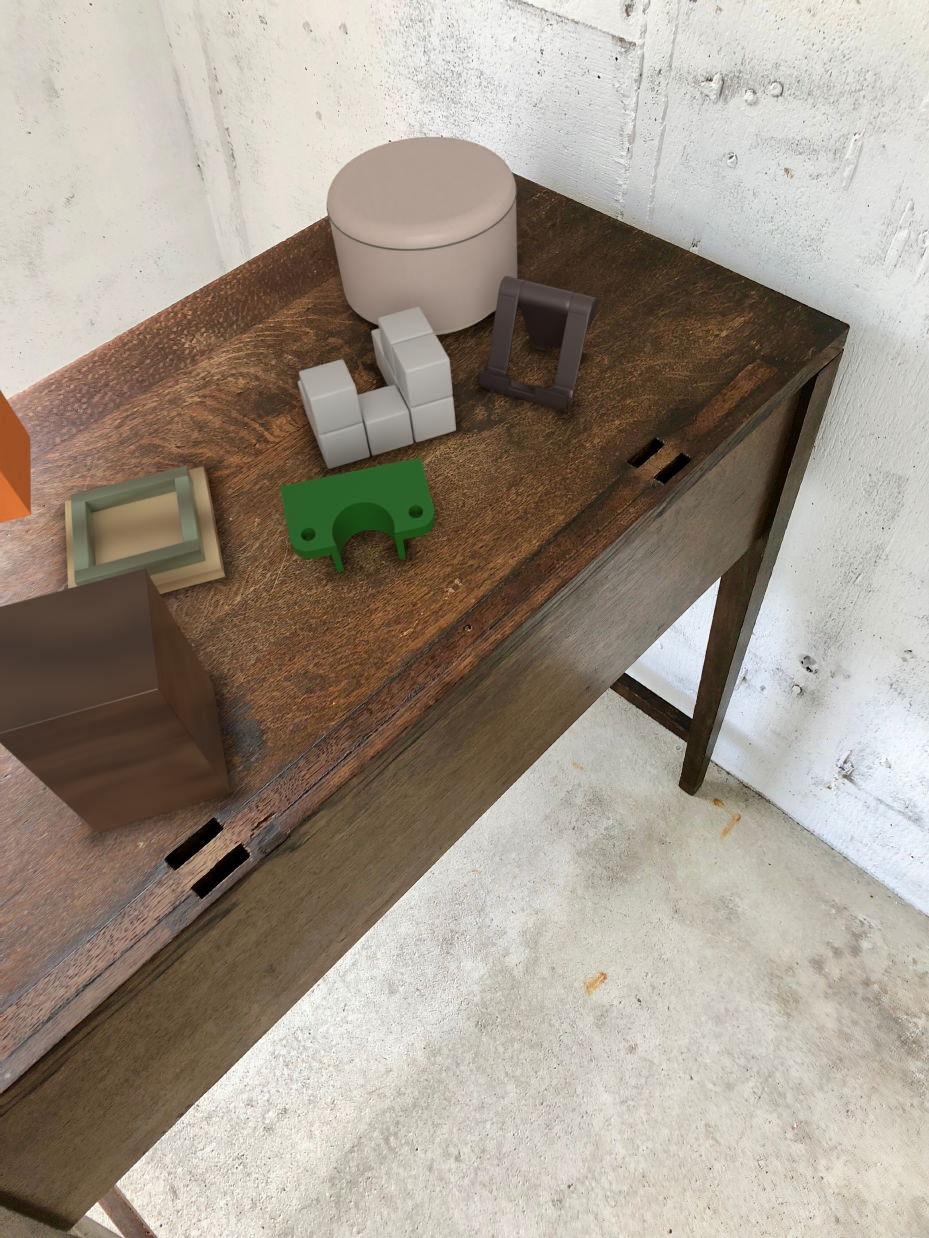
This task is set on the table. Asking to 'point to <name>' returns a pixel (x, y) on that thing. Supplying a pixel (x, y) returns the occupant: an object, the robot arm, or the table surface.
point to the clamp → (358, 508)
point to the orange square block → (13, 465)
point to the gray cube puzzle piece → (383, 394)
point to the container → (425, 230)
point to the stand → (109, 702)
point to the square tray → (145, 531)
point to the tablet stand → (539, 338)
